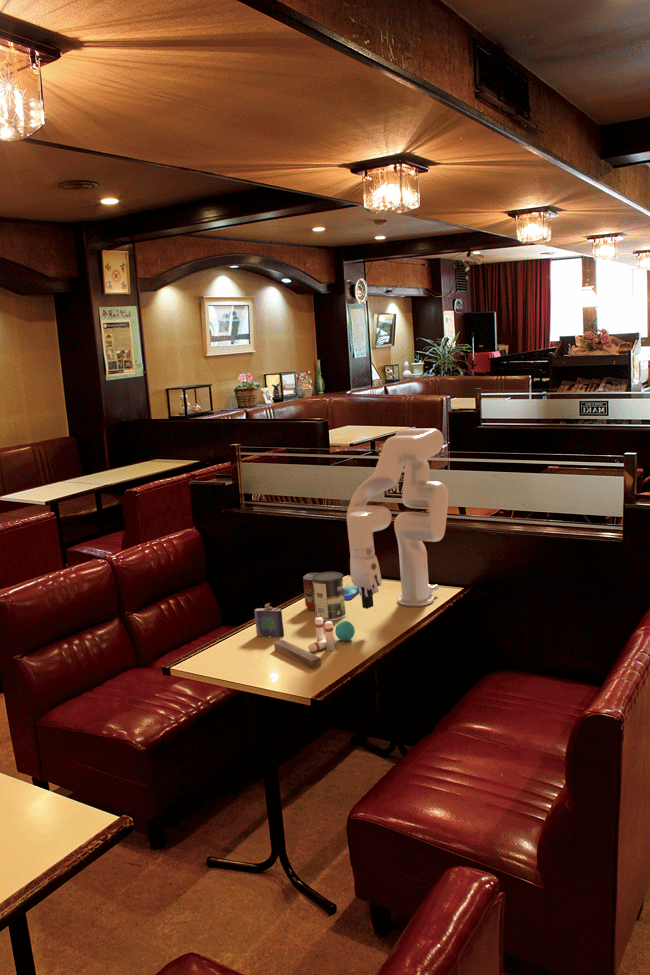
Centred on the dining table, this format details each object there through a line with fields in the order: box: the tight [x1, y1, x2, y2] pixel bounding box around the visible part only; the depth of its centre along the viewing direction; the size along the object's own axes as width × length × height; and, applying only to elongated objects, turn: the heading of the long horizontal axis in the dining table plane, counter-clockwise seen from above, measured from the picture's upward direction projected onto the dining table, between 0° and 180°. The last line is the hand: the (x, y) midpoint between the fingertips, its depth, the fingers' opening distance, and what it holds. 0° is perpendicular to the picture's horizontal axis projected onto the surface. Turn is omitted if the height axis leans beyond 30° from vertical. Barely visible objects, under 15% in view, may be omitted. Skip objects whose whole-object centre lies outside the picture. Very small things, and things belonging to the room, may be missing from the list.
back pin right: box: [314, 617, 326, 642], centre depth 227 cm, size 2×2×8 cm
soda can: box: [302, 572, 319, 612], centre depth 260 cm, size 7×7×12 cm
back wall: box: [273, 639, 322, 670], centre depth 219 cm, size 3×20×2 cm, turn 36°
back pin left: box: [323, 621, 336, 652], centre depth 223 cm, size 2×2×8 cm
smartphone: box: [343, 584, 360, 601], centre depth 275 cm, size 8×1×15 cm
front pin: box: [307, 637, 337, 654], centre depth 225 cm, size 2×2×8 cm
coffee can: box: [312, 571, 346, 622], centre depth 251 cm, size 10×10×14 cm
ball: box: [334, 620, 356, 642], centre depth 230 cm, size 6×6×6 cm
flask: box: [253, 602, 285, 638], centre depth 238 cm, size 9×3×11 cm, turn 73°
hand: (368, 606), depth 235 cm, fingers closed
